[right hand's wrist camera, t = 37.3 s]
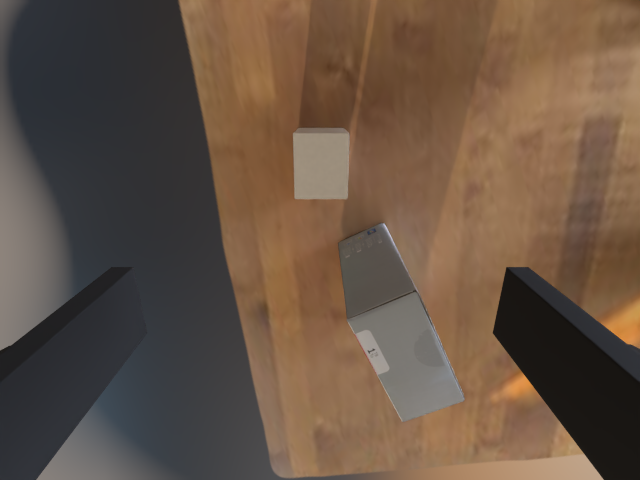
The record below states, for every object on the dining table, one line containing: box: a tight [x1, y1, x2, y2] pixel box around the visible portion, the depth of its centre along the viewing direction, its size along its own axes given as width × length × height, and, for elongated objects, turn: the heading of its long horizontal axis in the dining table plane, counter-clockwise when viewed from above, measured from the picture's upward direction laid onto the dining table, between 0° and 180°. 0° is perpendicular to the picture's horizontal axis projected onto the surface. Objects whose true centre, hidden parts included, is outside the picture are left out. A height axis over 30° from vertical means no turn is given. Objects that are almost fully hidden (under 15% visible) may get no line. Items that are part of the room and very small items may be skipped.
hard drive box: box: [338, 223, 464, 422], centre depth 45 cm, size 16×8×20 cm, turn 26°
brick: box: [293, 128, 350, 199], centre depth 44 cm, size 6×7×10 cm
